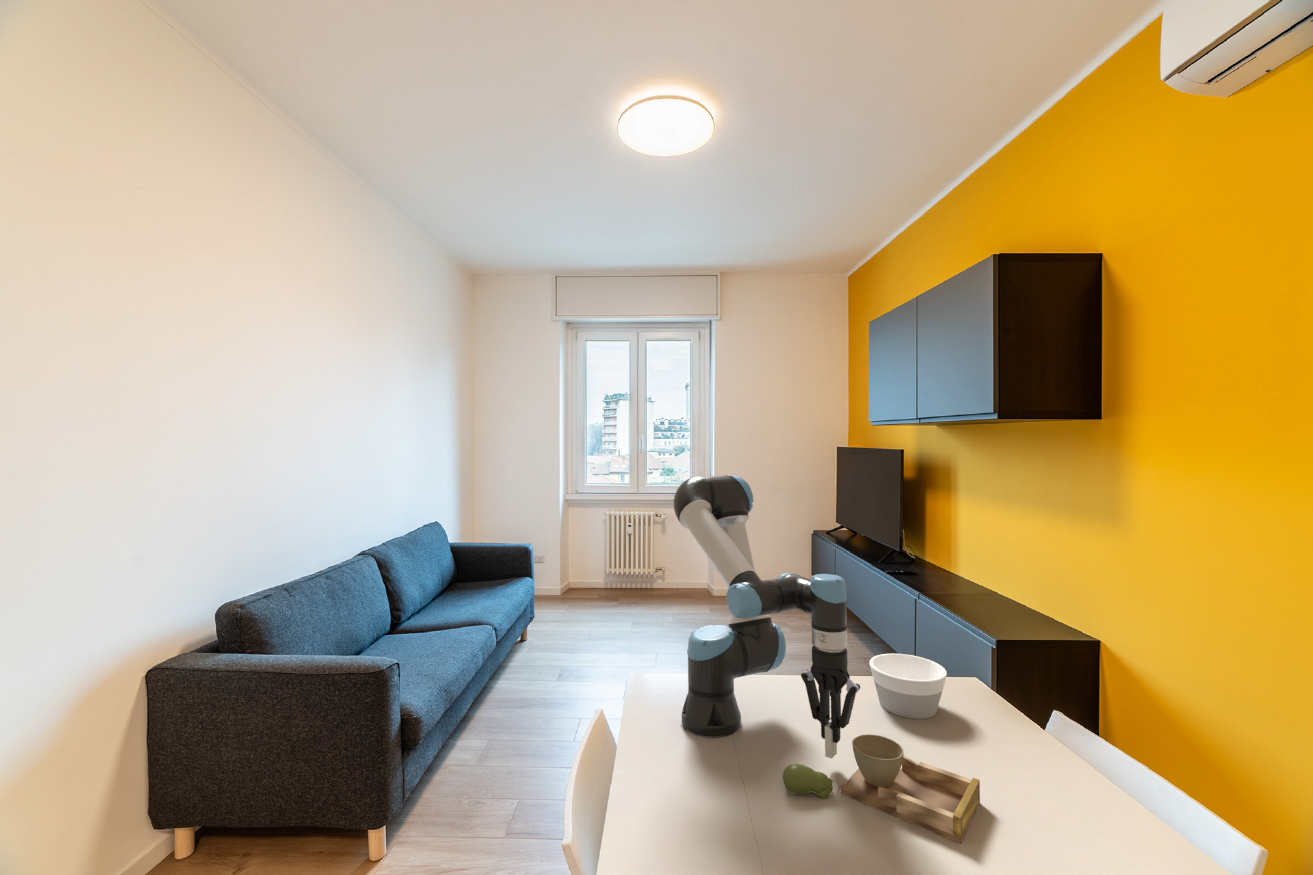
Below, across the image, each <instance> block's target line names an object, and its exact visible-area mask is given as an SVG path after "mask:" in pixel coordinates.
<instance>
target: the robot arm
mask: <svg viewBox="0 0 1313 875" xmlns="http://www.w3.org/2000/svg"><path fill="white" fill-rule="evenodd" d="M753 503H754V495H753V491H752V488H751V486H750V485H749V483H748V482H747V481H746V480H745V479H744V478H742V477H741V476H738V475H729V474H725V475H714V476H713V475H711V476H709V475H708V476H694V477H693V476H692V477H690V478H688V479H686V480H684V481H683V482H682V483H681V484H679V486H678V487H677V488H676V492H675V493H674V498H673V510H674V514H675V516H676V518H677V520H678V522H679V523H680V525H681V526H682V528H685V529H687V530H689V531H690V533H691V535H692V537H693V538H694V539H695V541H696V543H698V545H699V547H700V548H701V550H702V551H703V553H704V554H705V555H706V557H707V559H708V560H709V562H710V563H711V565H712V566H713V568H714V570H716V572H717V574H718V575H719V577H720V578H721V580H722V581H723V583H724V584H725V586H726V594H725V596H726V597H725V599H726V600H725V601H726V604H728V610H729V612H730V613H731V615H732V616H731V617H730V620H729V621H728V623H727V624H728V625H725V624H716V625H714V624H708V625H704V626H701V627H698V628H696V629H695V630H694V631H692V632H691V633H690V635H689V637H688V642H687V643H688V644H687V650H686V651H687V673H688V674H687V676H688V677H687V683H688V685H687V686H688V688H687V694H686V697H685V701H684V704H683V707H682V711H681V724H683V725H682V727H683V728H685V730H687V731H688V732H690V733H692V734H694V735H698V736H702V737H706V738H721V737H726V736H730V735H732V734H734V733H737V731H739V729H740V728H741V726H742V715H741V711H740V709H739V708H740V707H739V705H738V701H737V698H736V695H735V687H734V686H735V679H737V678H741V677H746V676H752V675H756V674H760V673H767V672H769V671H773V670H775V669H777V668H779V667H780V666H781V665H782V664H783V662H784V660H785V657H786V652H787V646H786V645H787V644H786V639H785V638H786V637H785V635H784V632H783V631H782V630H781V627H780V626H779V625H778V624H776V623H774V622H772V617H771V615H773V614H778V613H779V614H780V613H785V612H790V611H801V612H804V613H806V614H809V615H810V618H811V623H810V624H811V644H812V646H811V662H812V663H811V666H810V669H809V670H808V669H807V670H806V671H804V672H802V673H801V674H800V677H801V679H802V681H803V683H804V684H805V690H806V693H807V698H808V703H809V707H810V711H811V716H812V718H813V720H817V721H819V723H820V732H821V733H820V736H821V739H823V740H824V756H825V757H827V758H828V759H833V758H834V757H835V756H836V755H837V754H838V747H837V746H838V743H839V742H840V740H841V729H845V728H846V727H847V726H848V725H849V723H850V720H851V716H852V711H853V707H854V704H855V699H856V695H857V693H859V691H860V689H861V685H860V684H859V683H855V682H853V680H851V679H850V677H851V676H850V674H849V671H848V666H849V665H848V649H847V647H848V624H847V623H848V622H847V620H848V618H847V617H848V614H847V612H848V611H847V609H848V608H847V604H848V603H847V602H848V595H847V585H846V580H845V579H844V578H843V577H842V576H840V575H837V574H830V573H819V574H815V575H812V577H811V578H807V577H805V576H801V575H799V574H796V573H790V572H785V573H781V574H779V575H778V577H776V578H773V579H765V580H763V579H761V578H760V576H759V575H758V574H757V572H756V570H755V569H756V568H755V565H754V561H753V560H754V559H753V557H752V551H751V547H750V541H749V538H748V532H747V528H746V527H747V526H746V523H747V522H748V520H749V518H750V517H749V513H750V512H751V511H752V510H753V506H754V504H753ZM816 683H817V684H816ZM817 685H818V689H817ZM845 685H846V688H845V689H846V695H845V697H844V702H843V706H842V704H841V702H842V699H841V696H842V695H841V694H842V689H843V688H844V687H845Z"/></svg>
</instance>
